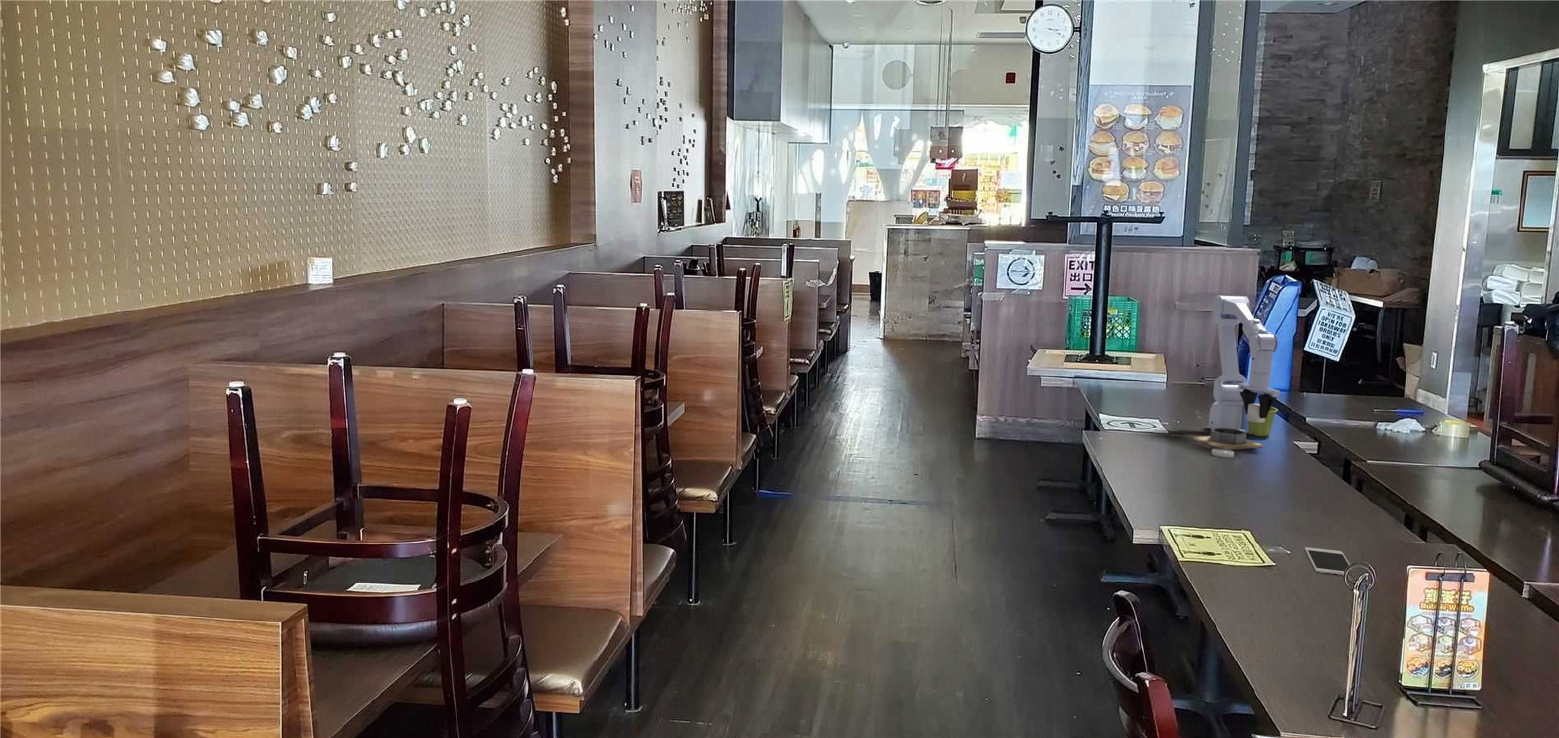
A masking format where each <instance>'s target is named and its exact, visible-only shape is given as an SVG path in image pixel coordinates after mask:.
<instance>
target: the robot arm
mask: <svg viewBox="0 0 1559 738" xmlns="http://www.w3.org/2000/svg"><path fill="white" fill-rule="evenodd" d="M1250 303H1251V302H1250V300H1249V298H1248V296H1246V295H1222V294H1220V295H1219V294H1218V295H1216V296H1215V297H1214V299H1213V302H1212V304H1211V310H1212V318H1213V322H1214V324H1216V325H1217V334H1218V344H1219V355H1220V356H1219V357H1220V365H1221V366H1220V367H1221V375H1220V376H1218V377H1217V378H1215V380H1214V382H1213V391H1212V393H1213V399H1214V400H1215V402H1213V403H1212V404H1211V406H1210V410H1209V419H1208V425H1207V426H1206V428H1207V429H1210V430H1211V429H1212V428H1231V429H1238V430H1242V431H1245V432H1247V430H1246V429H1245V430H1244V429H1241V424H1242V415H1243V413H1242V412H1243V406H1244V411H1245V415H1246V416H1247V413H1248V404H1250V403H1255V404H1256V399H1257V398H1258V404H1260V411H1259V417H1260V418H1266V417H1267V415H1268V412H1269V410H1270V408H1271V407H1272V406H1273V404H1274V403H1275V401H1276V400H1277V398H1280V393H1281V390H1278V389H1275V388H1272V387H1270V384H1271V382H1270V381H1271V371H1272V364H1273V353H1275V352H1276V351H1277V349H1278V344H1279V342H1278V341H1279V340H1278V337H1277V335H1276V333H1275V332H1268V330H1267V329H1266V327H1265V326H1264V325H1263V323H1262V322H1261V320H1260V319H1257V318H1254V316H1253V314H1252V312H1251V311H1250V306H1251V304H1250ZM1240 323H1241V324H1242V332H1243V333H1244V335H1245V336H1246V338H1247V339H1248V341H1249V342H1248V346H1249V356H1250V357H1251V358H1250V359H1251V360H1250V370H1249V378H1248V379H1249V383H1248V379H1247V378H1246V377H1245V376H1244V375H1242V374H1240V369H1239V361H1238V351H1237V340H1236V329H1235V326H1236V325H1238V324H1240ZM1259 394H1260V395H1259Z"/></svg>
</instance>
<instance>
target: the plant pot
mask: <svg viewBox="0 0 1559 738" xmlns="http://www.w3.org/2000/svg"><path fill="white" fill-rule="evenodd" d="M1278 411H1279V409H1277V408H1276V407H1272V406H1271V408H1270V410H1269V412H1268V415H1267V417H1266V418H1265V422H1262V423H1258V422H1250V421H1247V426H1248V429H1247V430H1248V431H1247V434H1249V435H1254V436H1255V437H1256V436H1257V437H1266V436H1267V437H1268V436H1270V432H1271V430H1272V425H1273V421H1274V418H1275V416H1276V415H1277V412H1278Z"/></svg>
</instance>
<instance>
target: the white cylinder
mask: <svg viewBox="0 0 1559 738" xmlns="http://www.w3.org/2000/svg"><path fill="white" fill-rule="evenodd" d="M1259 411H1260V404H1259V403H1256V402H1255V403H1250V404H1248V413H1247V415H1246V421H1247V422H1248V421H1250V422H1258V423H1262V422H1265V418H1260V417H1259Z"/></svg>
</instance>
